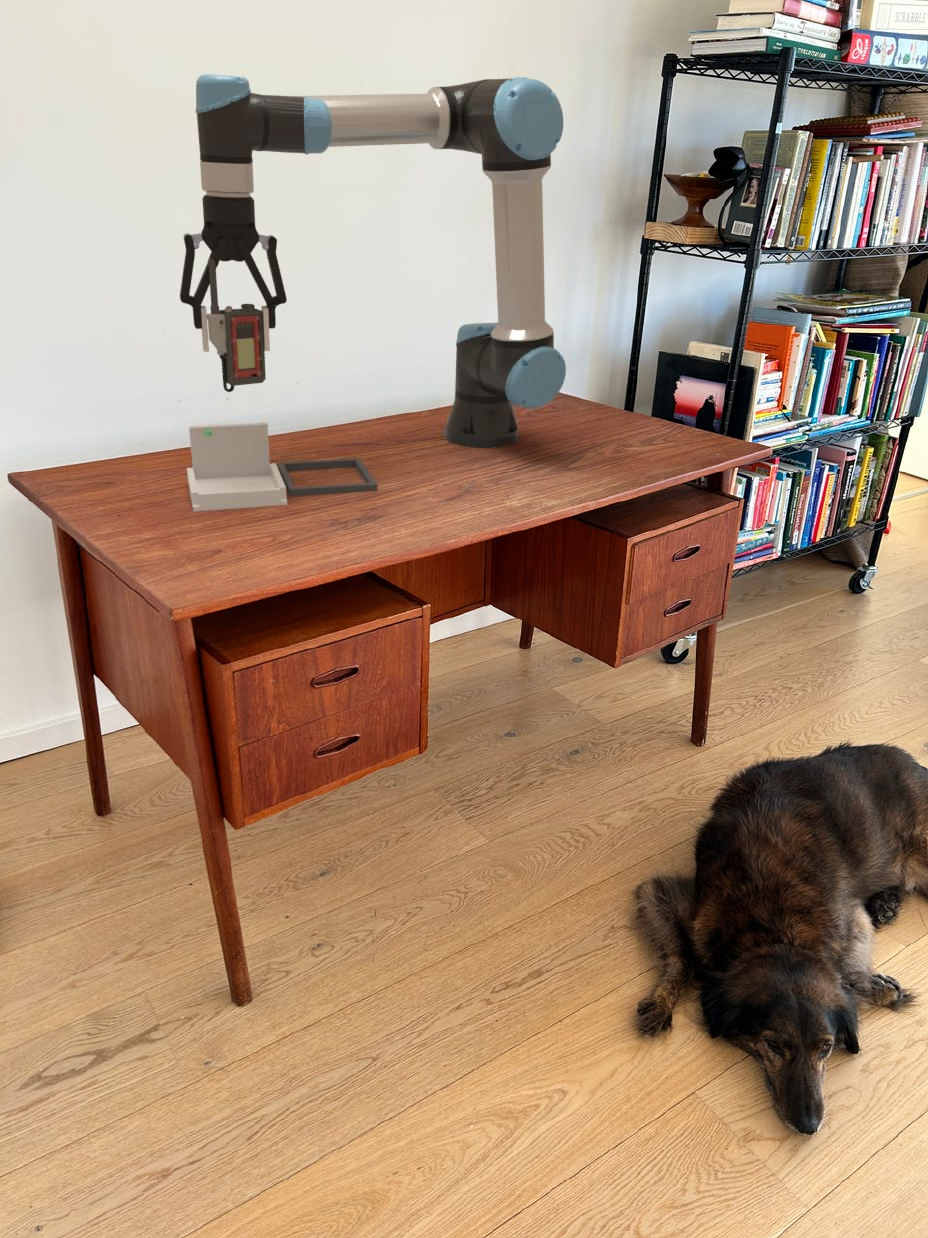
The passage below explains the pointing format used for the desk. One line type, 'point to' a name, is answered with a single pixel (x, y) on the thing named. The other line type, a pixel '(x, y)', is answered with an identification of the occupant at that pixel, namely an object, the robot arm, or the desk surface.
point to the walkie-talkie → (236, 339)
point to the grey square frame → (328, 489)
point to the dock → (233, 468)
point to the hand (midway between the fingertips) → (236, 349)
